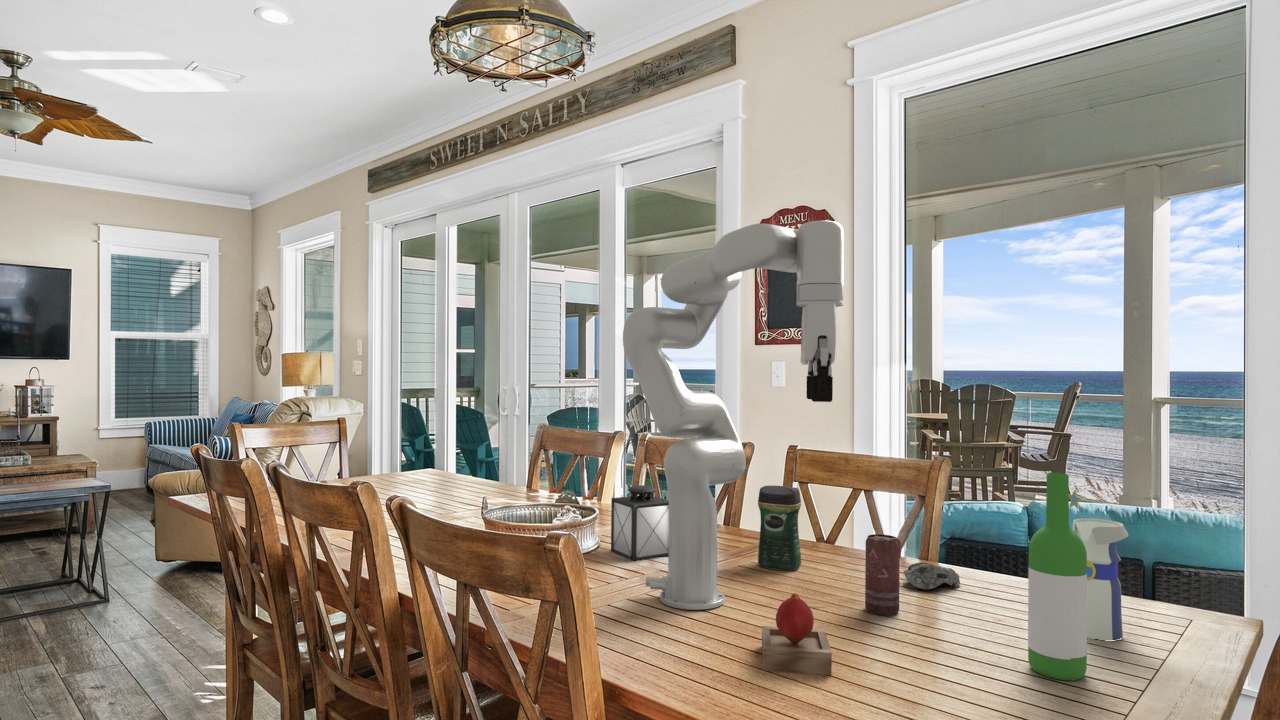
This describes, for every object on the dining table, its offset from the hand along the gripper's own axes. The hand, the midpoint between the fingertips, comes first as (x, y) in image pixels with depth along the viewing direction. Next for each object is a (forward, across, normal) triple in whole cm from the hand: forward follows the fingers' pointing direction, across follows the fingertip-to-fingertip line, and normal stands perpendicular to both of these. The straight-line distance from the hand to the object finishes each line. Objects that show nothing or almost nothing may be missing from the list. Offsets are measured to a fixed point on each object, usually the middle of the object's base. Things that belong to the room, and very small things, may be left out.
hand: (818, 400), depth 123 cm
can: (+40, -20, +14) cm, 47 cm away
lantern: (+41, -55, -37) cm, 78 cm away
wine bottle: (+40, +5, +35) cm, 54 cm away
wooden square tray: (+40, +7, -4) cm, 41 cm away
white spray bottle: (+40, -14, +49) cm, 65 cm away
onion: (+38, +7, -4) cm, 39 cm away
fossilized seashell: (+41, -39, +27) cm, 63 cm away
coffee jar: (+40, -49, -4) cm, 64 cm away
